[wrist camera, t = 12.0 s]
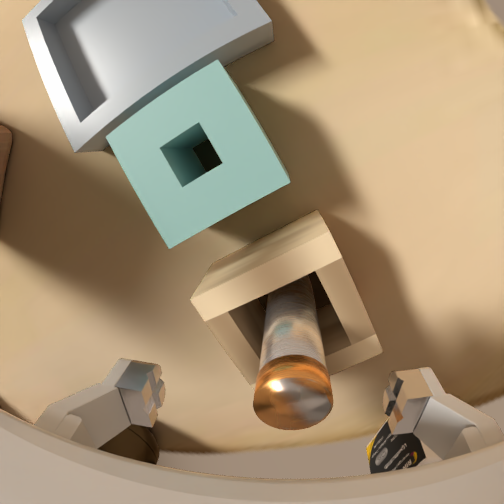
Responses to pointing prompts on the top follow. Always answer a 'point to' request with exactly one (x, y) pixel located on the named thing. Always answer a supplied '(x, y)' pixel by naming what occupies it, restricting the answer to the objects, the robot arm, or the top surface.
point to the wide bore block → (273, 277)
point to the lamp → (134, 444)
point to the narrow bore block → (186, 161)
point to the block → (4, 153)
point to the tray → (131, 54)
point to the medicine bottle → (397, 451)
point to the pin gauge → (292, 361)
